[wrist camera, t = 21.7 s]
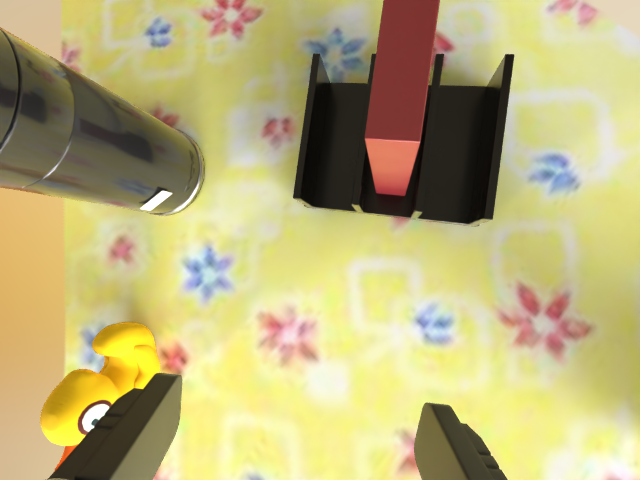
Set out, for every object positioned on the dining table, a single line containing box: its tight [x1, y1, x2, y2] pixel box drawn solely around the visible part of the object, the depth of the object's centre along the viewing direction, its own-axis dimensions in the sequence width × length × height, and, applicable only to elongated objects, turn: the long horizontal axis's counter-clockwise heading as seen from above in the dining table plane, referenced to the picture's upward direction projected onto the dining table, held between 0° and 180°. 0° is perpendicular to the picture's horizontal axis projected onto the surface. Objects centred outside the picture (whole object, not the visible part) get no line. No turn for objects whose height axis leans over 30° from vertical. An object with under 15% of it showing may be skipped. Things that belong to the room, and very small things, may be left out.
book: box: [365, 0, 440, 196], centre depth 22 cm, size 3×8×14 cm, turn 172°
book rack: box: [293, 54, 514, 227], centre depth 27 cm, size 16×12×6 cm
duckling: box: [40, 322, 160, 470], centre depth 29 cm, size 11×5×10 cm, turn 174°
